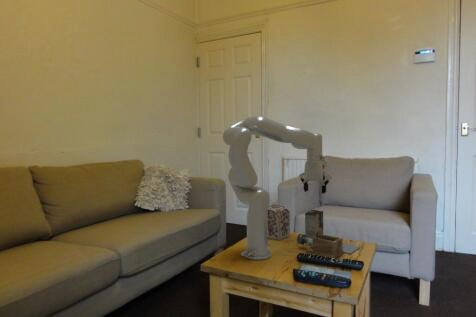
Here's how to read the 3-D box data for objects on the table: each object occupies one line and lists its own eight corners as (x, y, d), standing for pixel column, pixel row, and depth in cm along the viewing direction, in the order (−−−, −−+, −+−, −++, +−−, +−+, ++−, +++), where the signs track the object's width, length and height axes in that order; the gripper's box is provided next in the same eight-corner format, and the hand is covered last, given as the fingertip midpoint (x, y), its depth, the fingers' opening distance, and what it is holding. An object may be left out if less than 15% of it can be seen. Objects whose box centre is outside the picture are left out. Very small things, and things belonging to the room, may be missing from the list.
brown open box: (333, 259, 153) (334, 243, 153) (305, 253, 162) (305, 237, 162) (343, 253, 161) (343, 237, 160) (315, 247, 170) (315, 232, 169)
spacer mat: (350, 254, 160) (350, 253, 160) (326, 249, 167) (326, 248, 167) (360, 247, 169) (360, 246, 169) (336, 243, 177) (336, 241, 177)
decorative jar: (279, 241, 181) (279, 206, 180) (260, 237, 188) (260, 204, 187) (290, 235, 191) (290, 203, 190) (272, 232, 198) (272, 200, 197)
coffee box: (312, 239, 183) (312, 209, 181) (323, 241, 179) (323, 210, 178) (304, 244, 175) (304, 212, 174) (316, 246, 171) (316, 214, 170)
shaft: (322, 250, 159) (322, 240, 159) (296, 244, 168) (296, 235, 168) (327, 247, 163) (327, 237, 163) (301, 242, 172) (301, 232, 171)
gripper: (334, 158, 171) (334, 192, 173) (303, 157, 182) (303, 189, 184) (327, 159, 166) (327, 195, 167) (295, 158, 177) (295, 191, 178)
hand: (314, 192), depth 175 cm, fingers open, 9 cm apart
